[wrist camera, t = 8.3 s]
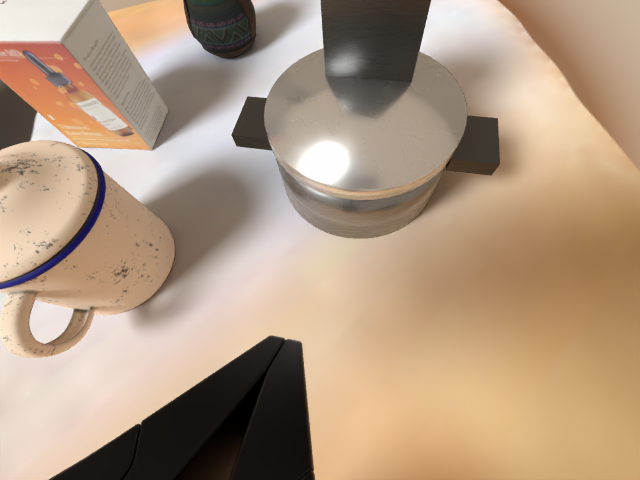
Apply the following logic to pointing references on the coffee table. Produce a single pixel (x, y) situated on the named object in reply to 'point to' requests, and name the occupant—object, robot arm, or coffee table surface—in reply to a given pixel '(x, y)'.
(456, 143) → the lid
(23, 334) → the teacup with lid
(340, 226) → the pot
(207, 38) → the mate gourd
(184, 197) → the coffee table surface
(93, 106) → the small box
